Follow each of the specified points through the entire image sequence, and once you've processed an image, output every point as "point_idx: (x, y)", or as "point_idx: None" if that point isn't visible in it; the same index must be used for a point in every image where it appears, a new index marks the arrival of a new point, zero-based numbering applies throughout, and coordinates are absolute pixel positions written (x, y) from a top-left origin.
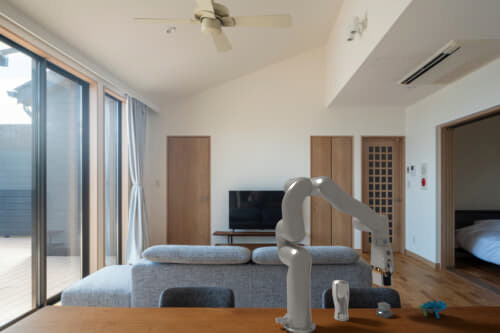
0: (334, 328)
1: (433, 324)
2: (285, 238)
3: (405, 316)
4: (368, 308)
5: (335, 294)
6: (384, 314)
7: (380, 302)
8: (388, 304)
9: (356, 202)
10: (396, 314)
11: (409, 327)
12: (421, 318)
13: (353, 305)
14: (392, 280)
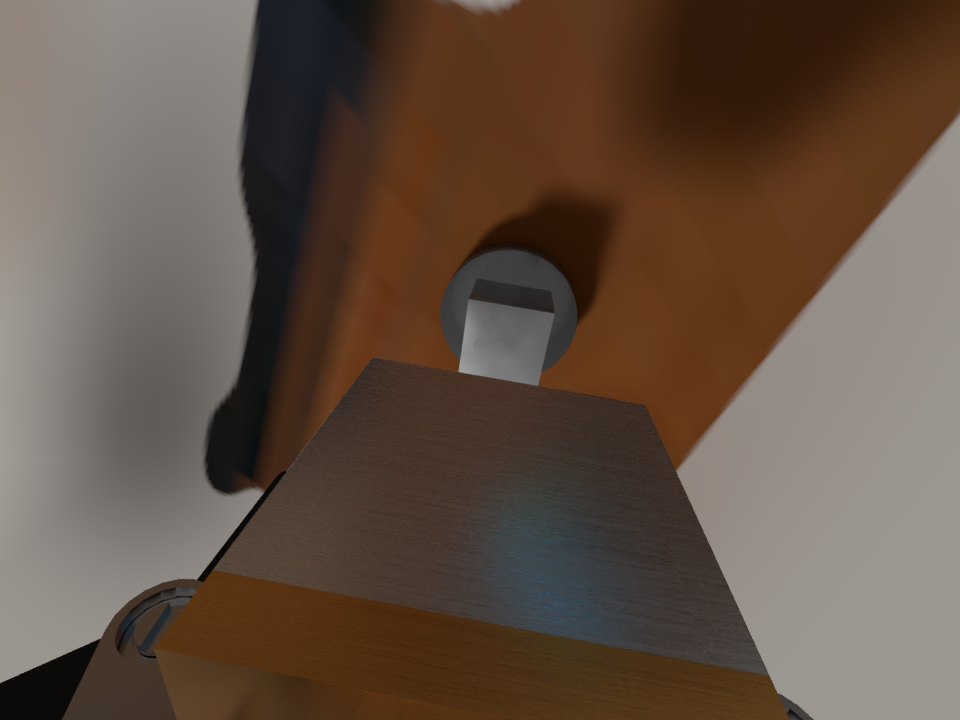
0: None
1: (910, 29)
2: None
3: (614, 141)
4: (341, 311)
5: None
6: (551, 360)
7: (462, 348)
8: (542, 321)
9: None
10: (539, 186)
11: (773, 321)
12: (743, 3)
13: (257, 370)
14: (676, 484)
